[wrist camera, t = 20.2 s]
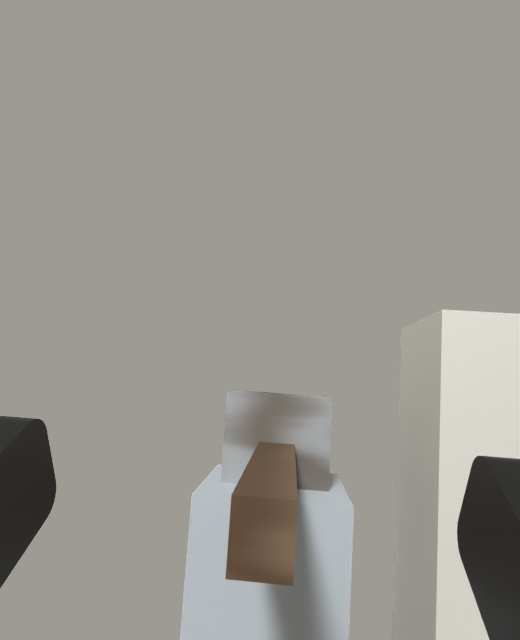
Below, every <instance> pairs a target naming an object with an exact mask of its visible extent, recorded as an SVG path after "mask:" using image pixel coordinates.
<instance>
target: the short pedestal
mask: <svg viewBox="0 0 520 640" xmlns="http://www.w3.org/2000/svg"><path fill="white" fill-rule="evenodd" d="M221 471H222V464H218V465H217V466H216V467H215V468H214V469H213V471H212V472H211V473H210V474H209V475H208V476H207V478H206V479H205V480H204V481H203V482H202V483H201V484H200V485H199V487H198V488H197V489H196V490H195V491H194V492H193V493H192V499H191V512H190V523H189V535H188V548H187V559H186V572H185V584H184V596H183V608H182V621H181V633H180V640H349V618H350V592H351V569H352V544H353V520H354V507H353V505H352V503H351V501H350V499H349V497H348V495H347V493H346V491H345V489H344V487H343V485H342V483H341V481H340V479H339V477H338V475H337V474H332V473H329V488H328V492H326V491H314V490H302V489H297V493H298V510H297V528H296V546H295V564H294V582H293V586H288V585H278V584H268V583H258V582H248V581H237V580H227V579H225V578H226V564H227V550H228V536H229V522H230V508H231V495H232V493H233V491H234V489H235V487H236V485H237V484H231V483H221Z"/></svg>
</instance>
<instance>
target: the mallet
mask: <svg viewBox="0 0 520 640" xmlns="http://www.w3.org/2000/svg"><path fill="white" fill-rule="evenodd" d="M332 403H333V400H331V399H329V398H327V397H324V396H310V395H296V394H281V393H267V392H253V391H234V392H229V393H227V405H226V418H225V432H224V446H223V459H222V471H221V483H231V484H237V485H236V487H235V489H234V491H233V493H232V495H231V508H230V522H229V536H228V550H227V564H226V578H225V579H227V580H237V581H248V582H258V583H268V584H278V585H288V586H293V582H294V564H295V546H296V528H297V510H298V493H297V489H302V490H314V491H326V492H328V488H329V466H330V445H331V424H332Z"/></svg>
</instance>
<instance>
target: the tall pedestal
mask: <svg viewBox="0 0 520 640" xmlns="http://www.w3.org/2000/svg"><path fill="white" fill-rule="evenodd" d="M399 383H400V384H399V417H398V448H397V451H398V452H397V482H396V515H395V516H396V517H395V547H394V549H395V550H394V581H393V613H392V640H489V637H488V634H487V631H486V628H485V626H484V623H483V620H482V617H481V614H480V611H479V609H478V606H477V603H476V600H475V597H474V594H473V592H472V589H471V586H470V583H469V580H468V577H467V575H466V572H465V569H464V566H463V563H462V560H461V557H460V553H459V549H458V541H457V524H458V518H459V514H460V510H461V506H462V502H463V498H464V494H465V490H466V486H467V482H468V478H469V474H470V470H471V466H472V463H473V461H474V459H475V458H476V457H477V456H491V457H504V458H516V459H520V314H511V313H493V312H476V311H458V310H440V311H438V312H436V313H434V314H432V315H430V316H428V317H425V318H423V319H421V320H419V321H417V322H415V323H413V324H411V325H408V326H406V327H404V328H402V329H401V349H400V382H399Z"/></svg>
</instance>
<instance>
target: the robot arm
mask: <svg viewBox="0 0 520 640" xmlns="http://www.w3.org/2000/svg"><path fill="white" fill-rule="evenodd" d="M55 493H56V480H55V474H54V468H53V463H52V457H51V452H50V446H49V440H48V435H47V429H46V427H45V424H44V422H43V421H42V420H40V419H32V418H20V417H6V416H0V588H1V586H2V585H3V583H4V582H5V580H6V579H7V577H8V576H9V574H10V573H11V571H12V570H13V568H14V567H15V565H16V564H17V562H18V561H19V559H20V558H21V556H22V555H23V553H24V552H25V550H26V549H27V547H28V546H29V544H30V543H31V541H32V540H33V538H34V537H35V535H36V534H37V532H38V531H39V529H40V528H41V526H42V525H43V523H44V522H45V520H46V518H47V517H48V515H49V513H50V511H51V509H52V506H53V503H54V499H55ZM457 541H458V549H459V553H460V557H461V560H462V563H463V566H464V569H465V572H466V575H467V577H468V580H469V583H470V586H471V589H472V592H473V594H474V597H475V600H476V603H477V606H478V609H479V611H480V614H481V617H482V620H483V623H484V626H485V628H486V631H487V634H488V637H489V640H520V459H516V458H504V457H491V456H477V457H476V458H475V459H474V461H473V463H472V466H471V470H470V474H469V478H468V482H467V486H466V490H465V494H464V498H463V502H462V506H461V510H460V514H459V518H458V524H457Z"/></svg>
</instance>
